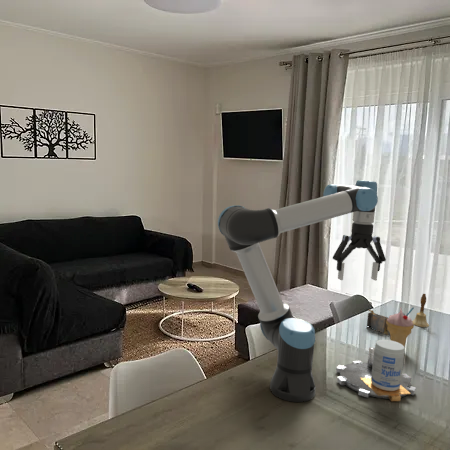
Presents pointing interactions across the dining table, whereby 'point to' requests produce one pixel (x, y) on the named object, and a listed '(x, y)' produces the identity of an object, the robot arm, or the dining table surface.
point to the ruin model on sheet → (377, 322)
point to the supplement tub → (387, 365)
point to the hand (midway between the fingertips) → (357, 279)
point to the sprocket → (361, 380)
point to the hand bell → (421, 314)
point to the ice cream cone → (399, 327)
